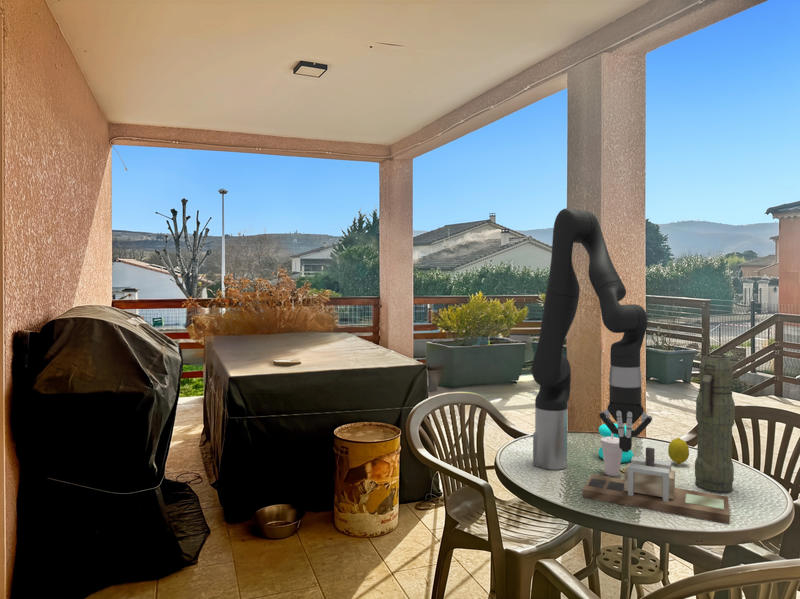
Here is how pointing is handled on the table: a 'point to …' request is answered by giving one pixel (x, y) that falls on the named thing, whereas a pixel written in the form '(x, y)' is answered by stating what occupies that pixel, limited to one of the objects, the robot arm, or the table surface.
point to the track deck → (660, 499)
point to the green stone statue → (715, 425)
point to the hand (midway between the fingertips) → (625, 450)
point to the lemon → (678, 451)
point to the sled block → (650, 479)
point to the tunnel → (659, 470)
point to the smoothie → (611, 455)
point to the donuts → (607, 433)
